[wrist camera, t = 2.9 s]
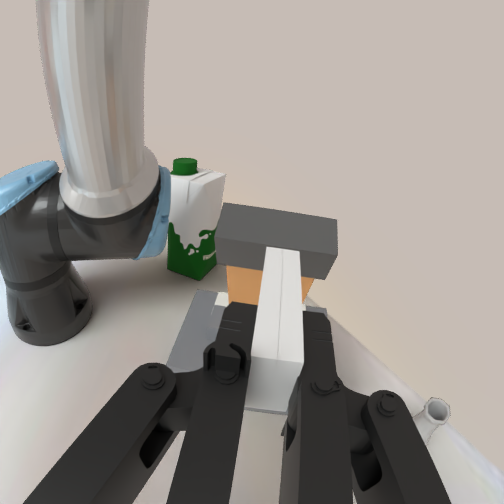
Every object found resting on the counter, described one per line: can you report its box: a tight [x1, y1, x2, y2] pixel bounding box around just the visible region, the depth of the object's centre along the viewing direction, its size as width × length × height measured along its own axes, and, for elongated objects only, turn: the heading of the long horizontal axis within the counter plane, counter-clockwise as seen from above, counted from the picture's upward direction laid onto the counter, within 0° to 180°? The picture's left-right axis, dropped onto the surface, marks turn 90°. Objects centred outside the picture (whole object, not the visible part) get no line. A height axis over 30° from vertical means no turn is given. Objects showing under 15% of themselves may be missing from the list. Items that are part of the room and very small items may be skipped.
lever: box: [214, 203, 338, 305], centre depth 26 cm, size 3×7×20 cm, turn 84°
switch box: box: [166, 289, 328, 415], centre depth 36 cm, size 14×18×8 cm
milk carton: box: [167, 158, 226, 281], centre depth 52 cm, size 9×9×20 cm
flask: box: [413, 397, 450, 445], centre depth 24 cm, size 7×7×10 cm
